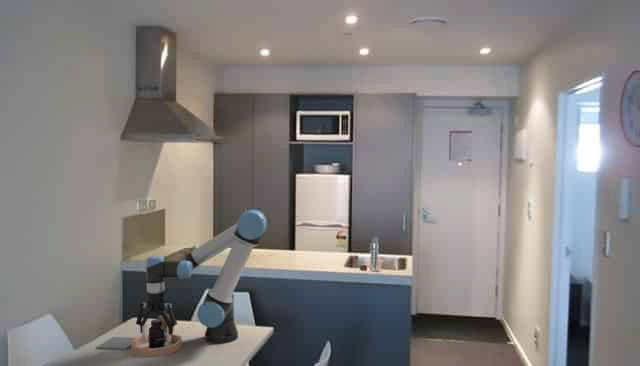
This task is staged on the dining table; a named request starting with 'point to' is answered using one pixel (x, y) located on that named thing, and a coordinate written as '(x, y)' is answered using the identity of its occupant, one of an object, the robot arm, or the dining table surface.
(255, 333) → the dining table surface
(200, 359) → the dining table surface
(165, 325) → the natural sponge
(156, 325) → the supplement bottle
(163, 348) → the pink polygonal hoop
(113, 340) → the mat
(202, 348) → the dining table surface
